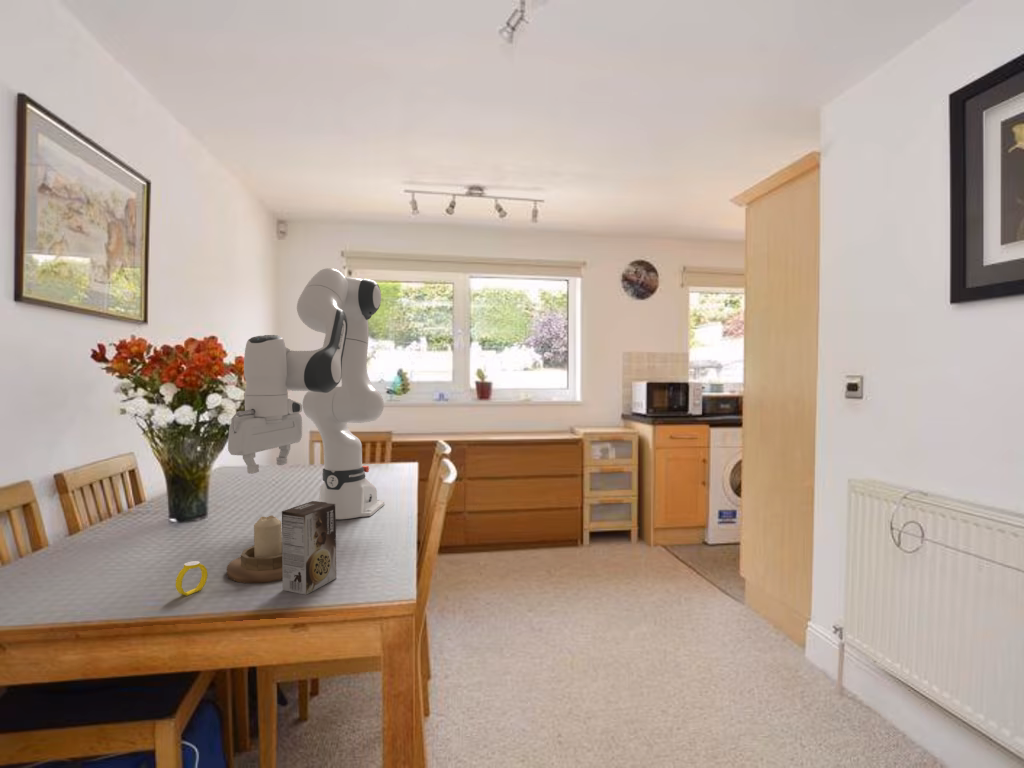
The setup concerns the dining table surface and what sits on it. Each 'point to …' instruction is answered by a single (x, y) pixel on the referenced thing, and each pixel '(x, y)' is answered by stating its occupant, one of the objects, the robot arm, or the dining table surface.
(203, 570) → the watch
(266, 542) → the candle
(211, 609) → the dining table surface
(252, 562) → the candle plate
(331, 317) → the robot arm
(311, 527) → the coffee box
